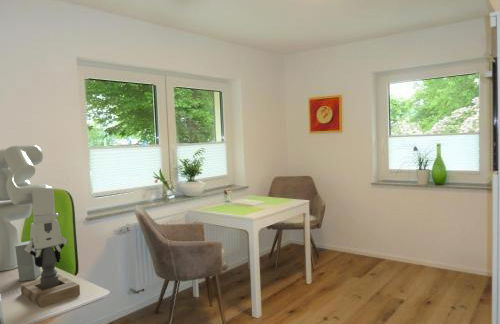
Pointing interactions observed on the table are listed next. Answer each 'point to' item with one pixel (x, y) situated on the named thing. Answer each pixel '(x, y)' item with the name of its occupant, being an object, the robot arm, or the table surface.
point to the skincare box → (26, 263)
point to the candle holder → (48, 264)
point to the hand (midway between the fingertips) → (48, 263)
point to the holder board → (50, 291)
